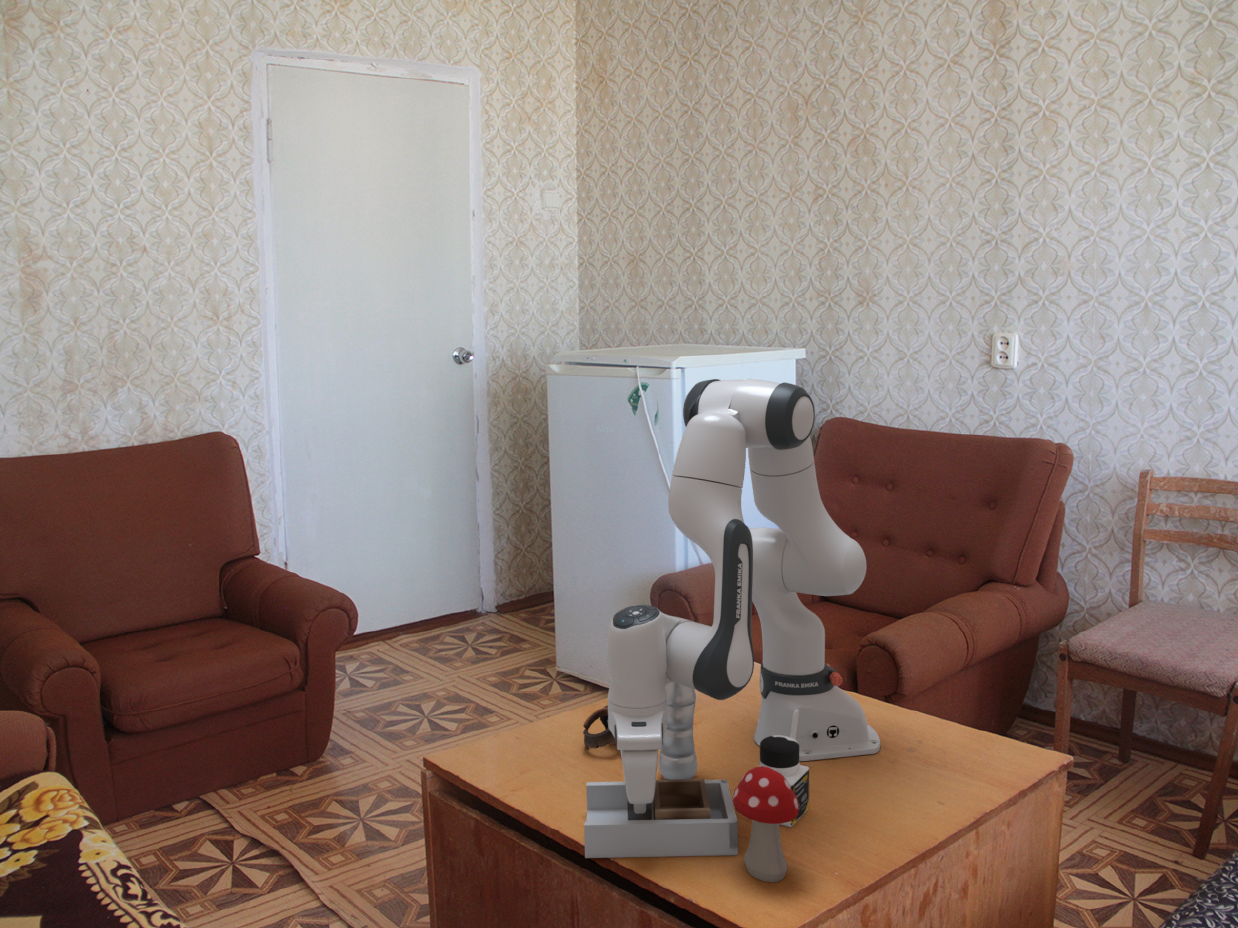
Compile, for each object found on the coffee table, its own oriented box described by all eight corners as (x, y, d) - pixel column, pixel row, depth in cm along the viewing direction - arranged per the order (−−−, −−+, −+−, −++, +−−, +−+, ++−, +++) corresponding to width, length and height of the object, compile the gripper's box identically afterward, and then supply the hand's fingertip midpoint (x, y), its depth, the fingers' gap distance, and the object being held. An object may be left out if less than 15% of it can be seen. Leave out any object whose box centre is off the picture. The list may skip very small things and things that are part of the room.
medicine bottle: (791, 828, 157) (792, 752, 155) (748, 817, 161) (748, 743, 159) (809, 809, 163) (810, 736, 161) (767, 798, 167) (767, 727, 165)
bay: (727, 809, 163) (726, 779, 162) (737, 854, 149) (737, 822, 149) (587, 812, 163) (586, 782, 162) (585, 857, 149) (584, 825, 148)
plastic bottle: (671, 790, 170) (670, 673, 167) (651, 774, 176) (649, 661, 173) (705, 781, 173) (704, 666, 170) (684, 766, 179) (683, 655, 176)
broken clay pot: (647, 757, 185) (626, 724, 181) (599, 780, 185) (579, 748, 182) (636, 716, 196) (617, 685, 192) (592, 738, 196) (572, 707, 193)
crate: (704, 808, 161) (704, 765, 160) (710, 841, 151) (710, 795, 150) (627, 809, 161) (626, 766, 160) (628, 842, 151) (627, 797, 150)
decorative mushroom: (812, 878, 143) (813, 775, 141) (763, 896, 138) (763, 790, 136) (767, 847, 151) (767, 749, 149) (719, 863, 147) (719, 763, 145)
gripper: (616, 691, 164) (617, 774, 166) (617, 744, 144) (619, 837, 145) (655, 690, 164) (657, 773, 166) (662, 743, 144) (664, 836, 146)
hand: (639, 804), depth 155 cm, fingers closed on crate, 3 cm apart
